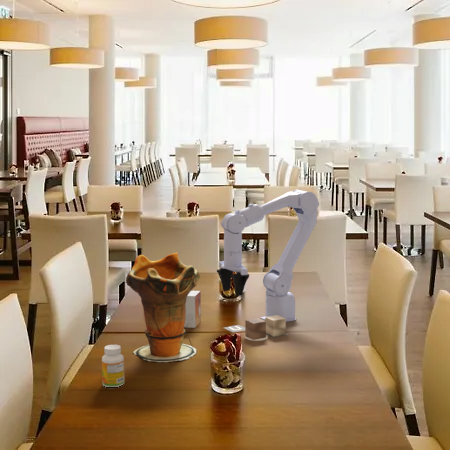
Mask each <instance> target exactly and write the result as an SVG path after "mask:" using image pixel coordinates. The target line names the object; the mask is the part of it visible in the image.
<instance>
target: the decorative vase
mask: <svg viewBox="0 0 450 450" xmlns="http://www.w3.org/2000/svg"><path fill="white" fill-rule="evenodd" d="M200 274H201V273H200V272H199V271H198V270H197V269H196V268H194V266H193V265H192V264H190V265H186V264H184V263H182V261H181V260H180V258H179V253H178V252H177V251H176V252H174V253H170V254H168V255H166V256H165V257H163V258H161V259H158V260H150V259H149V258H148V257H147V256H145V255H144V254H139V255H138V256H136V257H135V260H134V264H133V266H132V268H131V270H130V271H129V272H128V273H127V274H126V277H125V283H126V285H127V286H129V288H131V290H133V291H134V292H136V294H138V295H139V297H140V299H141V305H142V307H143V315H144V316H143V317H144V323H145V326H146V329H145V331H144V334H145V337H146V339H147V341H148V344H147V345H143V346H141V347H138V348H137V349H135V350H134V351H133V352H132V354H133V353H134V356H135V355H136V356H138V357H139V358H141V359H142V360H144V361H148V362H156V363H169V362H177V361H184V360H188V359H190V358H191V357H194V355H196V354H197V348H196V347H194V346H193V345H192V341H191V340H190V337H188V340H189V343H190V345H189V344H186V343H183V342H184V336H185V335H186V334H188V333H187V331H186V329H185V327H184V324H185V318H186V300H187V296H188V294H189V293H190V292H191V291H193V289H194V288H195V287H197V286H198V283H199V281H200V278H201V275H200Z"/></svg>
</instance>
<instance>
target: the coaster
mask: <svg viewBox="0 0 450 450" xmlns="http://www.w3.org/2000/svg"><path fill="white" fill-rule="evenodd" d="M244 338H245V339H246V340H249V341H253V342H258V341H259V342H260V341H265V340H268V338H269V336H268V335H266V338H261V339H255V340H253V339H251V338H248V337H246V336H245V335H244Z"/></svg>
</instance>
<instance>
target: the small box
mask: <svg viewBox="0 0 450 450" xmlns="http://www.w3.org/2000/svg"><path fill="white" fill-rule="evenodd" d="M201 293H202V292H201V290H191V292H190V293H189V294H188V296H187V300H186V318H185V324H184V328H190V329H191V328H193V329H196V328H197V326H198V325H199V324H201V322H202V316H201V315H202V310H201V309H202V306H201V305H202V304H201V303H202V300H201V298H202V295H201Z"/></svg>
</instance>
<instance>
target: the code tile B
mask: <svg viewBox="0 0 450 450" xmlns="http://www.w3.org/2000/svg"><path fill="white" fill-rule="evenodd" d="M266 335H267V336H268V337H270V338H272V339H273V338H279V337H280V338H281V337H284V336H289V334H288V333H286V334H285V335H279V336H274V337H273V336H271V335H269V334H267V333H266Z"/></svg>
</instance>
